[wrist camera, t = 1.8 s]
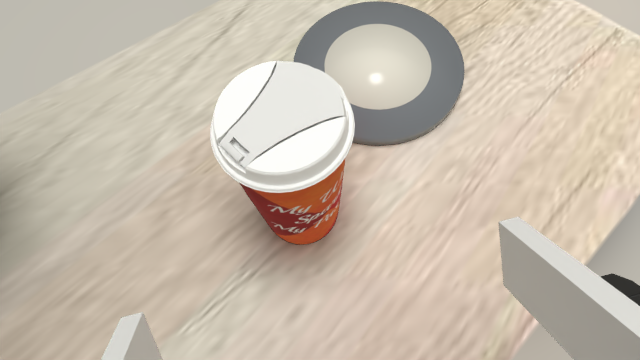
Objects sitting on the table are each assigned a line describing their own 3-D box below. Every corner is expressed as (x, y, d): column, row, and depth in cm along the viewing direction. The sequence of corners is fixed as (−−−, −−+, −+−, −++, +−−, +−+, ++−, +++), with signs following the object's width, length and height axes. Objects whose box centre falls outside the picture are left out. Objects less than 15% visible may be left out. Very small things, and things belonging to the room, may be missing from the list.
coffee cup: (300, 279, 36) (273, 213, 22) (234, 211, 38) (172, 114, 25) (373, 208, 38) (389, 108, 24) (305, 148, 40) (285, 28, 27)
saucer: (315, 163, 40) (314, 157, 39) (279, 29, 46) (277, 20, 45) (487, 122, 41) (491, 114, 39) (428, -4, 47) (430, -14, 46)
